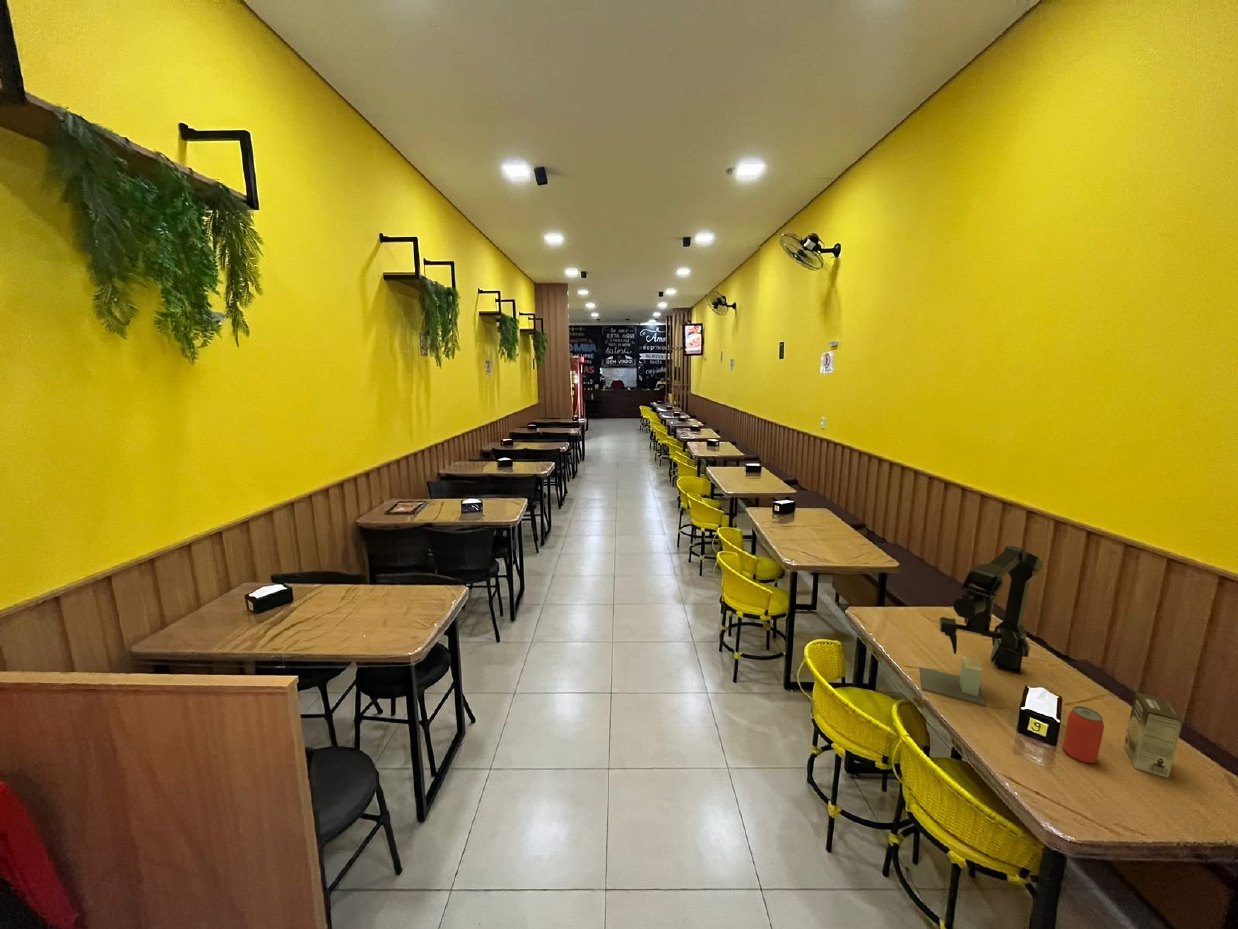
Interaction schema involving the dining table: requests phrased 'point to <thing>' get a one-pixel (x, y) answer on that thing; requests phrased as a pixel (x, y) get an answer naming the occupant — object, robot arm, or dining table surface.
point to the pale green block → (970, 675)
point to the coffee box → (1152, 734)
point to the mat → (947, 686)
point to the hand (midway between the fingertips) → (972, 657)
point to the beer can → (1083, 734)
